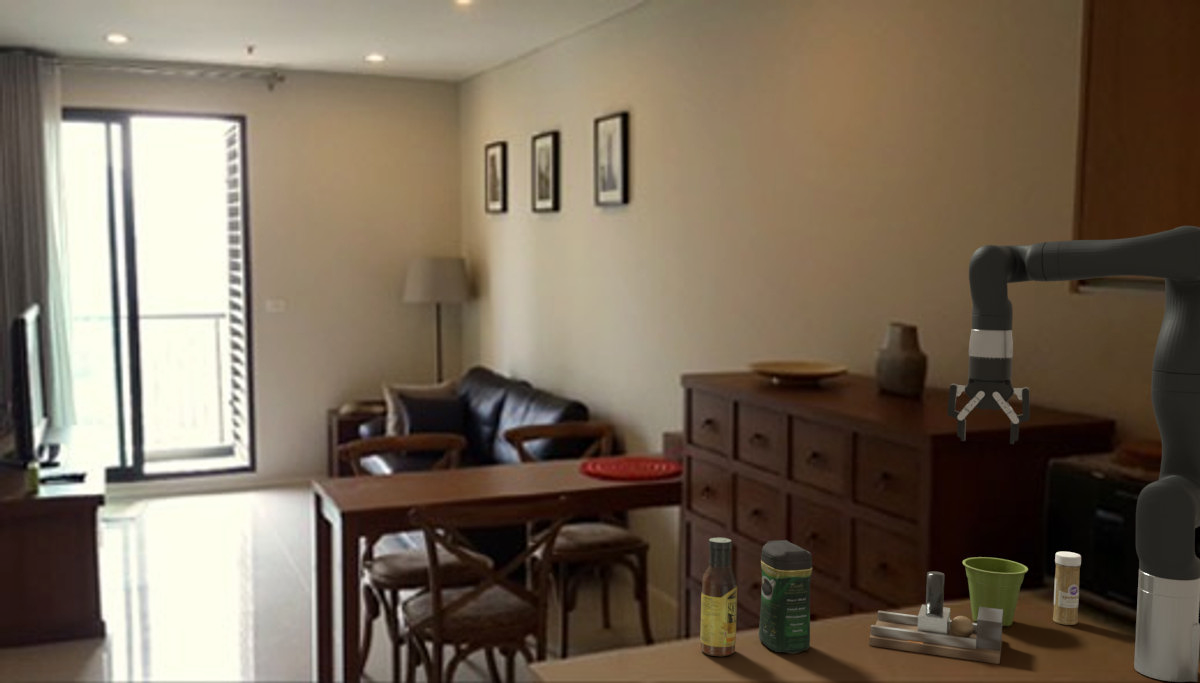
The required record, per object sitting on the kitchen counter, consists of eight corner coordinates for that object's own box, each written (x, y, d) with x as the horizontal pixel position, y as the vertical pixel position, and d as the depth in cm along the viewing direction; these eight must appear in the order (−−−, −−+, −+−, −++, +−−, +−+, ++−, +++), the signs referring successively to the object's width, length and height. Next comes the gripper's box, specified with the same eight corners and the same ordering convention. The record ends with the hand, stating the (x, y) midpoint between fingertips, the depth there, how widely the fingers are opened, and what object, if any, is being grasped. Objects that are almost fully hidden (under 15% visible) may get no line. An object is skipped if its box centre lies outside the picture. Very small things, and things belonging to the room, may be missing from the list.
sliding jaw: (949, 629, 198) (951, 570, 197) (946, 641, 191) (948, 580, 191) (921, 625, 200) (923, 567, 199) (917, 637, 193) (919, 577, 193)
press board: (1001, 640, 197) (1003, 605, 197) (999, 664, 185) (1001, 627, 185) (879, 623, 206) (880, 590, 205) (869, 645, 194) (870, 609, 193)
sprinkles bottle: (1067, 627, 205) (1070, 557, 205) (1047, 620, 209) (1050, 552, 209) (1083, 623, 208) (1086, 555, 207) (1063, 616, 212) (1066, 549, 211)
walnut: (973, 636, 195) (974, 614, 195) (972, 643, 191) (973, 621, 191) (950, 633, 196) (951, 611, 196) (948, 640, 193) (949, 618, 192)
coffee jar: (816, 653, 189) (820, 549, 188) (775, 657, 187) (778, 551, 186) (792, 634, 199) (795, 535, 197) (752, 638, 196) (755, 538, 195)
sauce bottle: (734, 659, 185) (737, 546, 184) (697, 656, 187) (700, 543, 185) (737, 646, 192) (739, 536, 190) (702, 643, 193) (704, 534, 192)
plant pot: (1035, 633, 202) (1037, 574, 201) (971, 631, 202) (973, 572, 201) (1012, 613, 214) (1015, 557, 213) (952, 611, 214) (954, 555, 213)
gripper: (1032, 354, 198) (1028, 441, 200) (951, 351, 204) (948, 436, 205) (1032, 357, 192) (1028, 447, 193) (948, 354, 197) (945, 442, 198)
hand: (987, 441), depth 199 cm, fingers open, 8 cm apart
